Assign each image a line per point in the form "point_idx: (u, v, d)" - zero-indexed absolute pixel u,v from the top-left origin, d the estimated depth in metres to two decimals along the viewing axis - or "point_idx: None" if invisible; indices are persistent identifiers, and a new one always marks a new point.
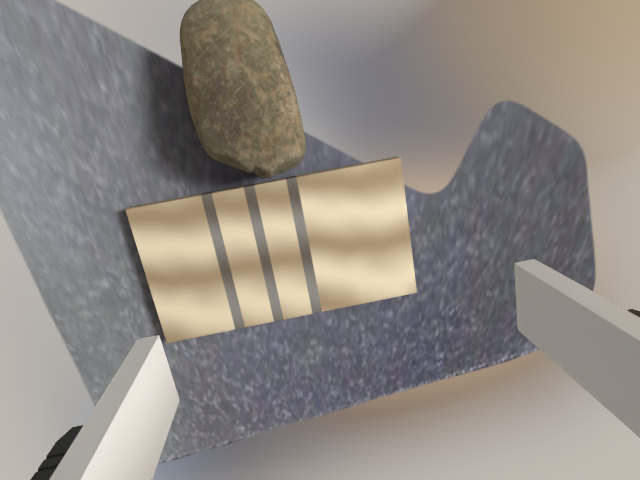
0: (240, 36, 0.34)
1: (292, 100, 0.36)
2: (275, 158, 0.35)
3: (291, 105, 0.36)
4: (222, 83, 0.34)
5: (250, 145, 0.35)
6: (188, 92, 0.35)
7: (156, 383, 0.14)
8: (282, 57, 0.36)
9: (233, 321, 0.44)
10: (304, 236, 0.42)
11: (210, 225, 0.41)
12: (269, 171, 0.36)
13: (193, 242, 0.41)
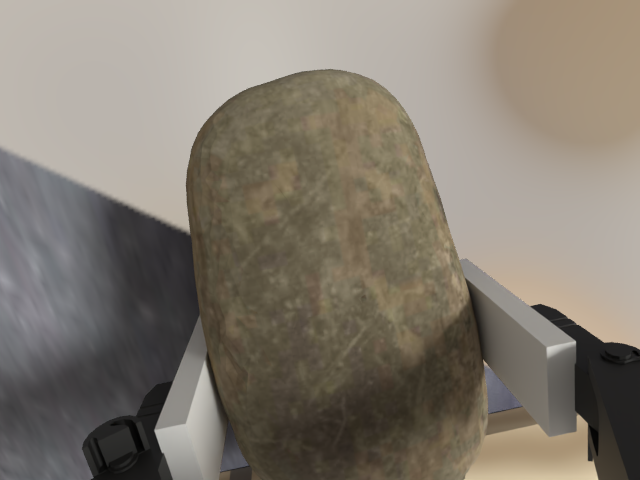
0: (357, 193, 0.12)
1: (475, 333, 0.14)
2: None
3: (474, 350, 0.14)
4: (308, 333, 0.12)
5: None
6: (210, 343, 0.13)
7: None
8: (447, 224, 0.14)
9: None
10: None
11: None
12: None
13: None
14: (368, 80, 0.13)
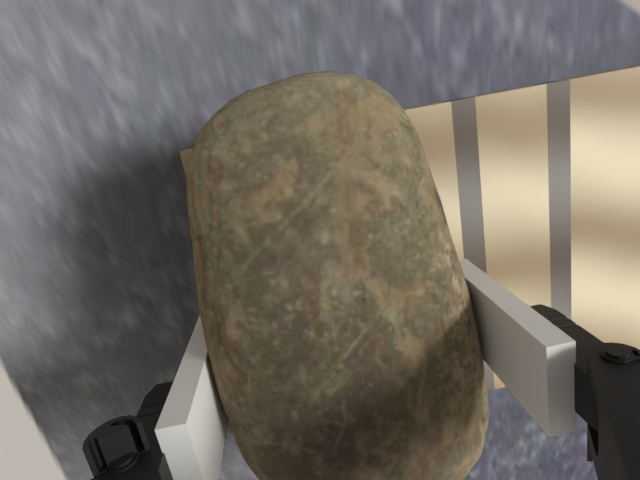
0: (357, 195, 0.12)
1: (475, 336, 0.14)
2: None
3: (475, 352, 0.14)
4: (308, 335, 0.12)
5: None
6: (211, 345, 0.13)
7: None
8: (447, 226, 0.14)
9: None
10: (564, 216, 0.19)
11: None
12: None
13: None
14: (368, 82, 0.13)
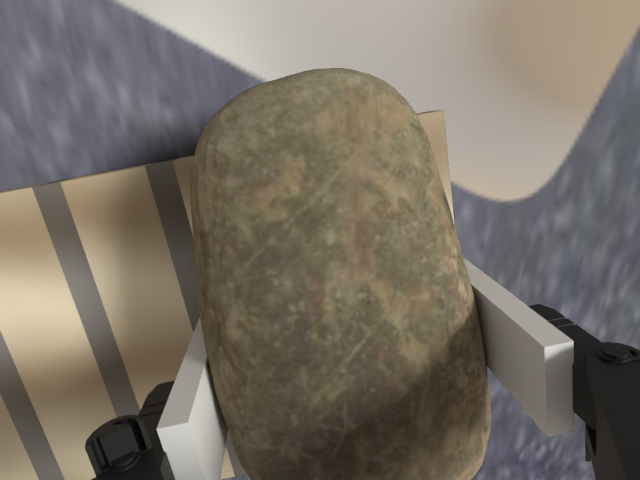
0: (365, 195, 0.12)
1: (480, 343, 0.14)
2: None
3: (479, 359, 0.14)
4: (311, 337, 0.12)
5: None
6: (210, 345, 0.12)
7: None
8: (454, 230, 0.14)
9: None
10: None
11: None
12: None
13: None
14: (379, 80, 0.13)
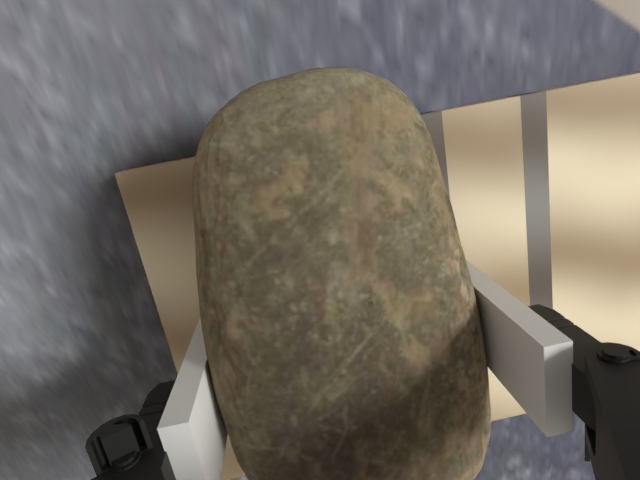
0: (368, 195, 0.12)
1: (482, 345, 0.14)
2: None
3: (480, 362, 0.14)
4: (312, 338, 0.11)
5: None
6: (210, 344, 0.12)
7: None
8: (457, 231, 0.14)
9: None
10: (543, 239, 0.18)
11: None
12: None
13: None
14: (383, 80, 0.13)
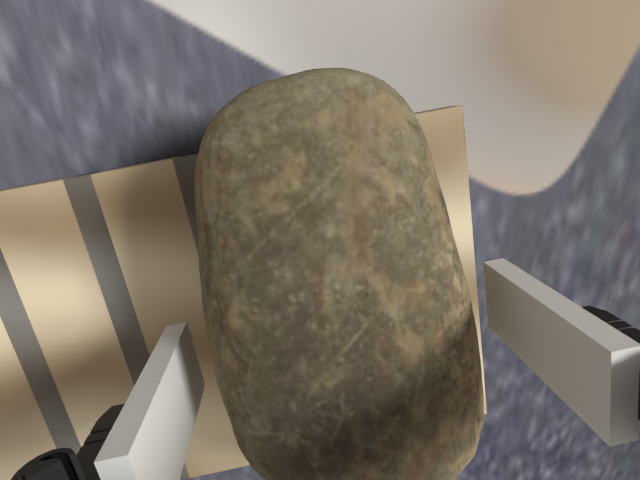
0: (363, 191, 0.12)
1: (474, 335, 0.14)
2: None
3: (472, 351, 0.14)
4: (310, 327, 0.12)
5: None
6: (212, 334, 0.13)
7: (186, 367, 0.15)
8: (450, 226, 0.14)
9: None
10: None
11: None
12: None
13: None
14: (378, 80, 0.13)
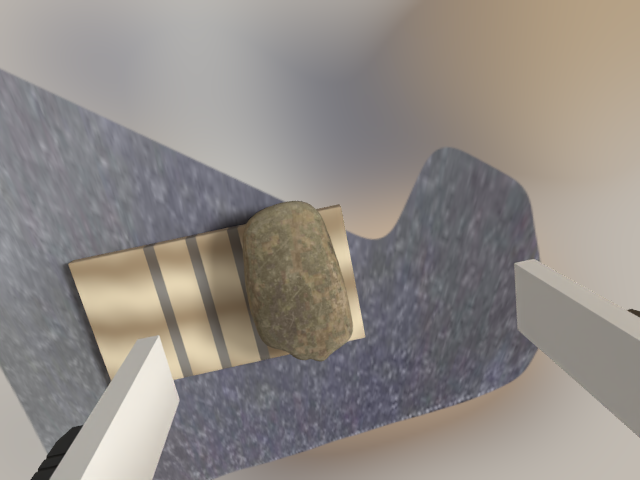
0: (298, 244, 0.37)
1: (343, 294, 0.39)
2: (327, 350, 0.38)
3: (342, 299, 0.39)
4: (281, 289, 0.37)
5: (306, 342, 0.38)
6: (249, 293, 0.38)
7: (156, 383, 0.14)
8: (334, 254, 0.39)
9: (181, 369, 0.44)
10: None
11: (153, 277, 0.42)
12: (321, 360, 0.39)
13: (137, 293, 0.42)
14: (304, 205, 0.38)
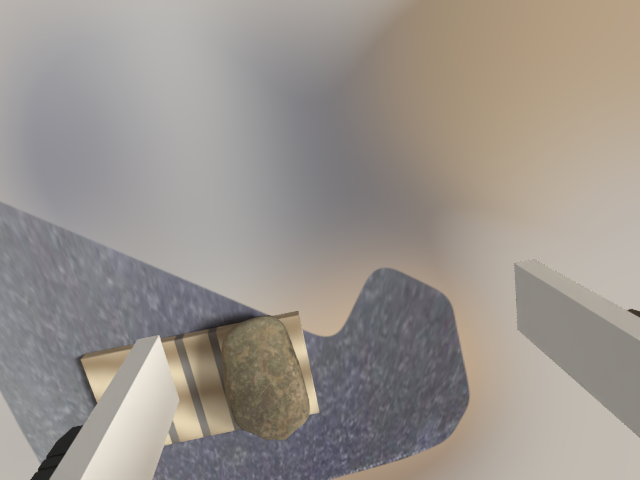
0: (264, 353, 0.48)
1: (301, 388, 0.50)
2: (288, 433, 0.49)
3: (300, 392, 0.50)
4: (251, 389, 0.48)
5: (270, 428, 0.48)
6: (226, 390, 0.48)
7: (156, 383, 0.14)
8: (294, 356, 0.50)
9: (170, 438, 0.55)
10: None
11: None
12: (283, 439, 0.50)
13: None
14: (270, 320, 0.49)
